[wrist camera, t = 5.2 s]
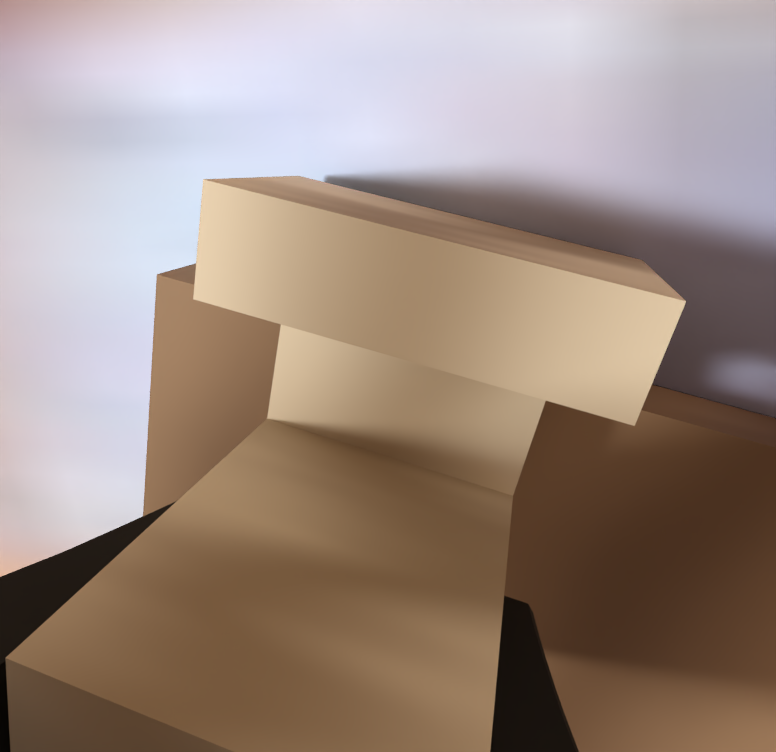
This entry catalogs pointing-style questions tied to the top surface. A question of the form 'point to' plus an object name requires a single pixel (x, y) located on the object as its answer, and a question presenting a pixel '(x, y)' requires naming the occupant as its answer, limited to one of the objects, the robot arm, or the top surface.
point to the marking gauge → (347, 486)
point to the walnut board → (562, 535)
